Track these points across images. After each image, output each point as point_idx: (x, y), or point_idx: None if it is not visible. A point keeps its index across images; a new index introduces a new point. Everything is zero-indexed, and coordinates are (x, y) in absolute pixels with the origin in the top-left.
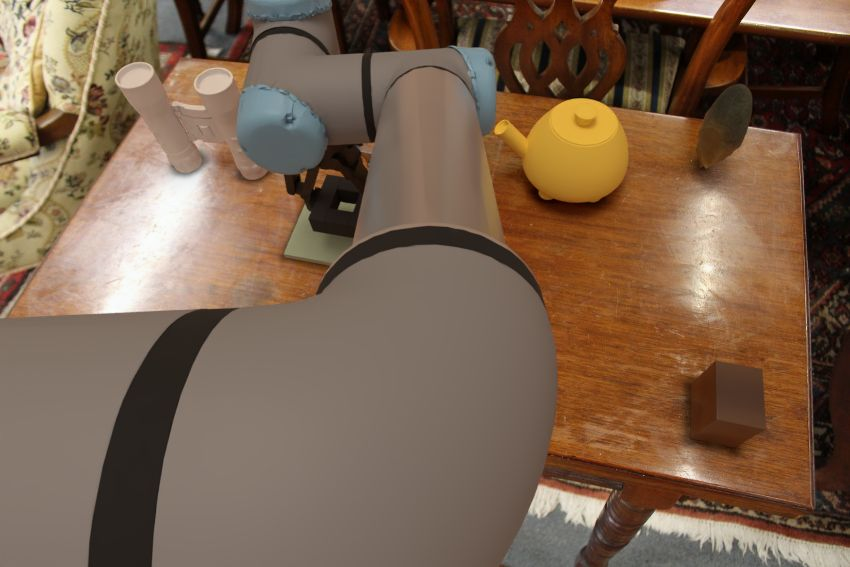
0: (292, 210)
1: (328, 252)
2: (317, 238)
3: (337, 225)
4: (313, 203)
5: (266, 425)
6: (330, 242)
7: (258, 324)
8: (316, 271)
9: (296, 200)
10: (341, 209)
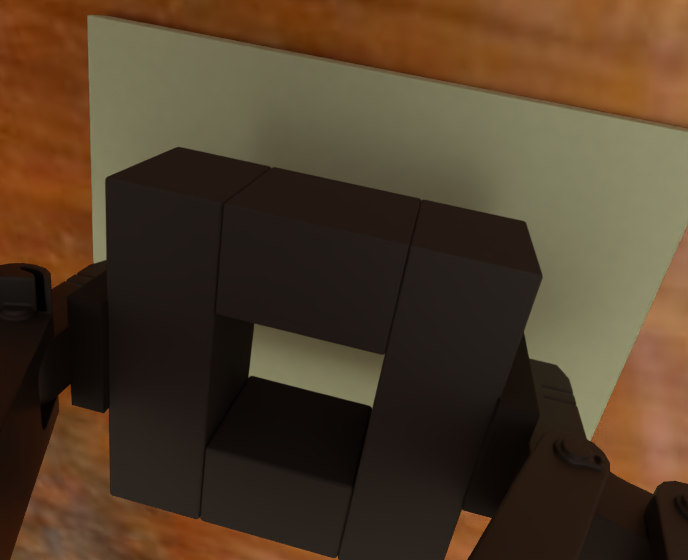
0: (661, 399)
1: (462, 149)
2: None
3: (312, 213)
4: (506, 401)
5: None
6: None
7: None
8: (529, 46)
9: (640, 445)
10: None
